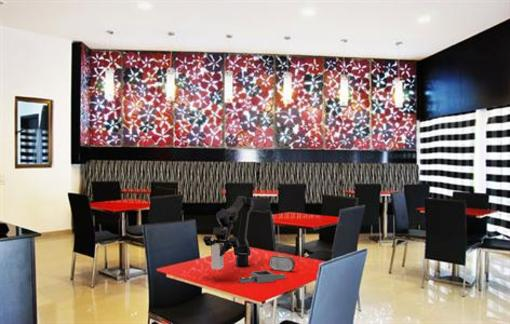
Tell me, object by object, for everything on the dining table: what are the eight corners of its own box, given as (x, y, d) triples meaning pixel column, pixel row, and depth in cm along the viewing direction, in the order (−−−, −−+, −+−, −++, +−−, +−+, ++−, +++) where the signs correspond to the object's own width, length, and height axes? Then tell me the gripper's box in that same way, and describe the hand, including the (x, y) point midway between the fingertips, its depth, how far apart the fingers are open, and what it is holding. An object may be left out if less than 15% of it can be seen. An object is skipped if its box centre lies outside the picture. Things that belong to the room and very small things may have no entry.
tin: (295, 271, 245) (295, 256, 245) (293, 272, 242) (293, 257, 242) (270, 268, 252) (270, 253, 252) (268, 270, 249) (268, 255, 249)
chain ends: (237, 279, 228) (237, 272, 228) (280, 275, 236) (280, 269, 236) (243, 284, 219) (243, 277, 219) (287, 280, 228) (287, 273, 228)
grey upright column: (215, 266, 229) (215, 242, 229) (223, 267, 228) (223, 242, 228) (211, 268, 225) (211, 243, 225) (219, 269, 224) (219, 244, 224)
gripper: (204, 220, 233) (194, 245, 223) (237, 222, 227) (228, 247, 217) (210, 233, 241) (201, 257, 230) (243, 234, 234) (235, 260, 224)
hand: (216, 255), depth 225 cm, fingers closed on grey upright column, 4 cm apart
